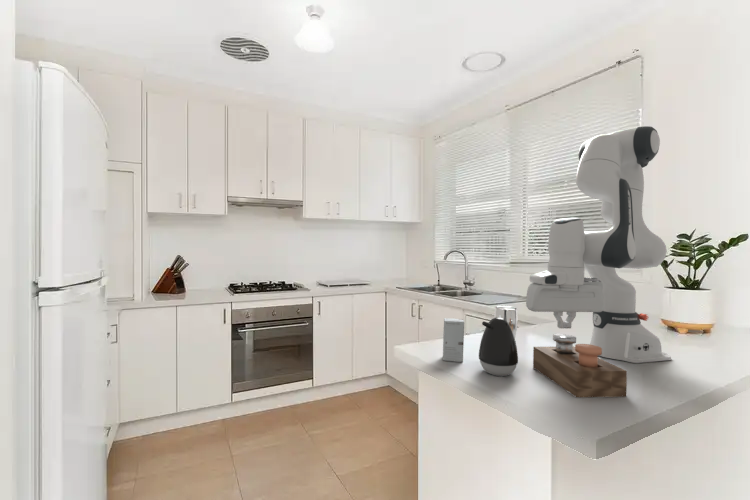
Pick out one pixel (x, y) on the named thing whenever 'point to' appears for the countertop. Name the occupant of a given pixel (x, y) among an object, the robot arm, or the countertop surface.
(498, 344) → the pump dispenser
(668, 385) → the countertop surface
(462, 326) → the skincare box
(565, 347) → the steel plunger
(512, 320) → the beer glass
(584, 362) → the terracotta plunger
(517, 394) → the countertop surface
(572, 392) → the walnut block
